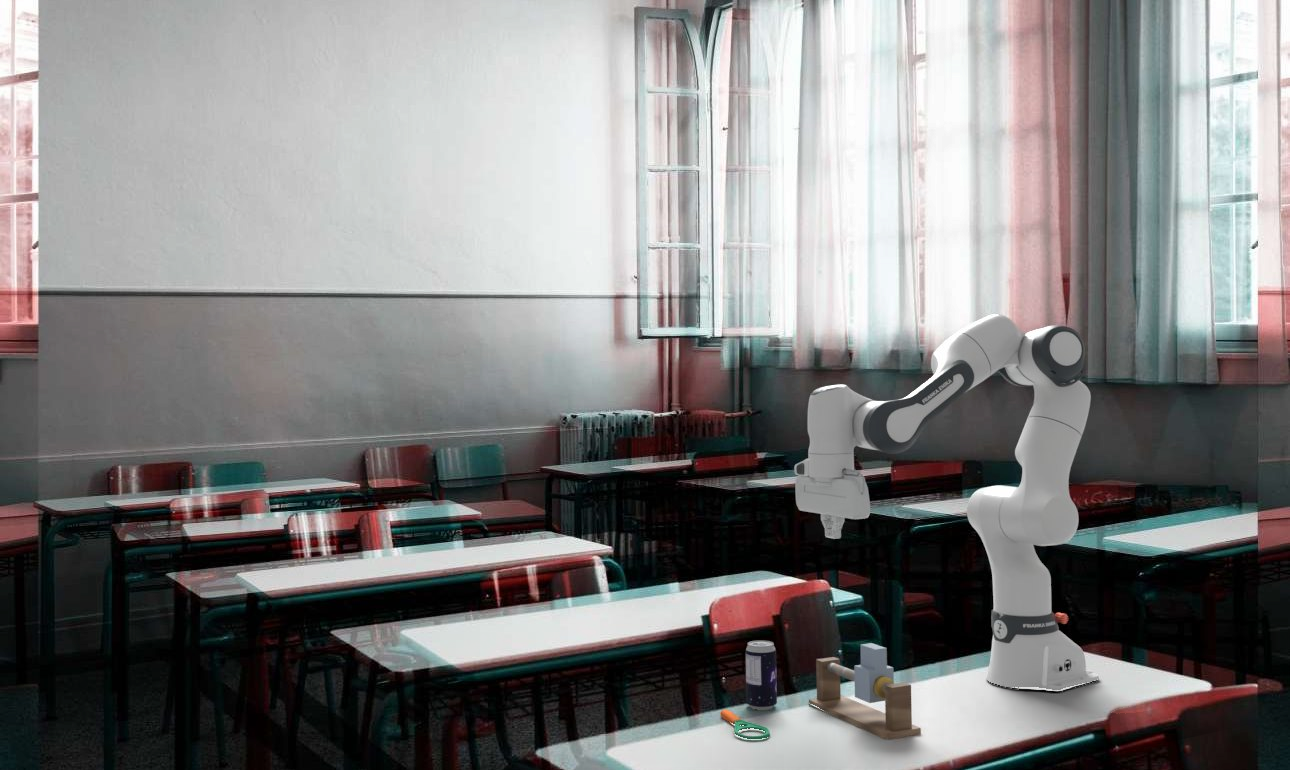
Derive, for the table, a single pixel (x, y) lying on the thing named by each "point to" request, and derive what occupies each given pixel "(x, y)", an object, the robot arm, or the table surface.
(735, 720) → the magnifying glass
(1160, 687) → the table surface
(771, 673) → the beverage can
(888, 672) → the stacked grey blocks
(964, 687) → the table surface
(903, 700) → the wooden rod rail
